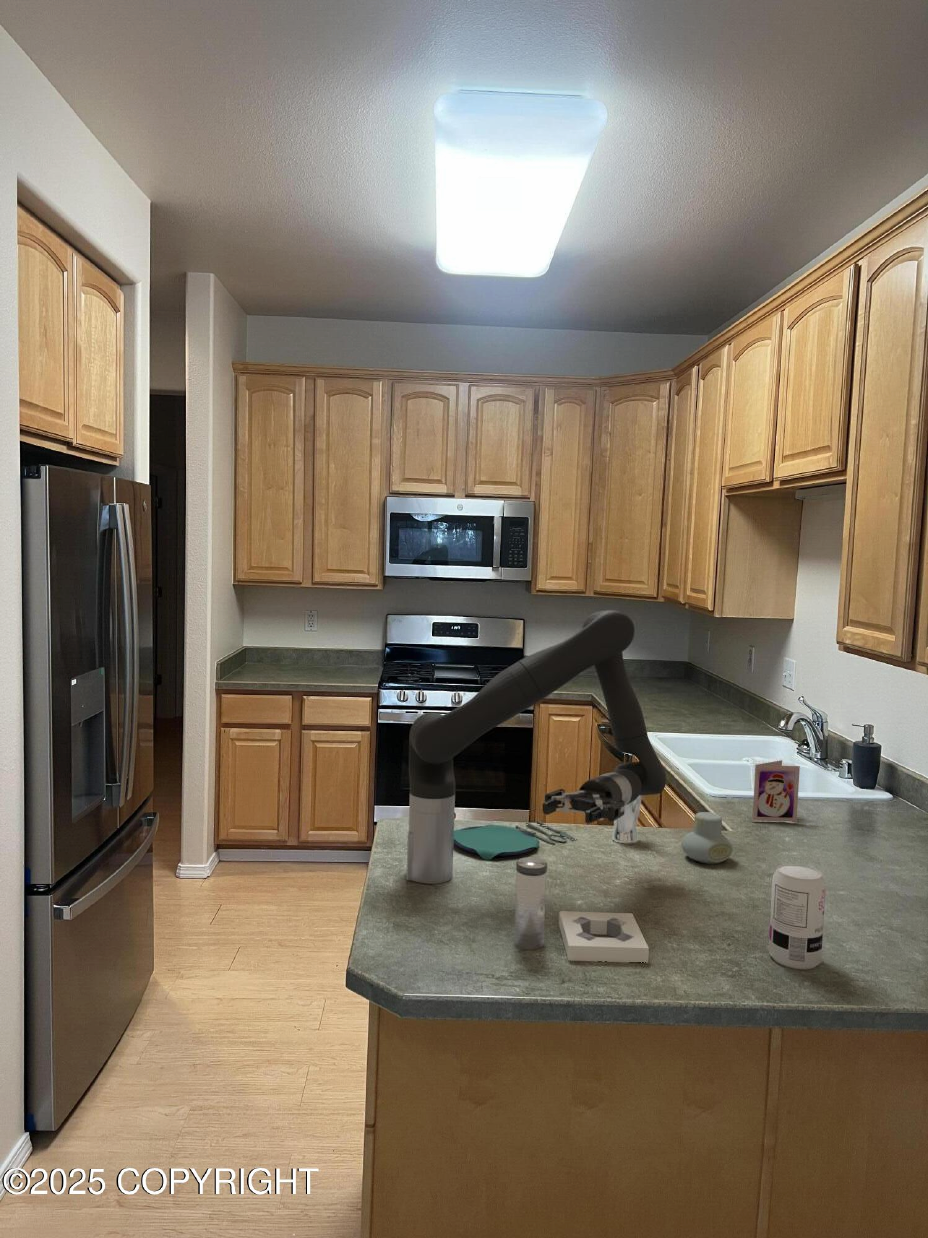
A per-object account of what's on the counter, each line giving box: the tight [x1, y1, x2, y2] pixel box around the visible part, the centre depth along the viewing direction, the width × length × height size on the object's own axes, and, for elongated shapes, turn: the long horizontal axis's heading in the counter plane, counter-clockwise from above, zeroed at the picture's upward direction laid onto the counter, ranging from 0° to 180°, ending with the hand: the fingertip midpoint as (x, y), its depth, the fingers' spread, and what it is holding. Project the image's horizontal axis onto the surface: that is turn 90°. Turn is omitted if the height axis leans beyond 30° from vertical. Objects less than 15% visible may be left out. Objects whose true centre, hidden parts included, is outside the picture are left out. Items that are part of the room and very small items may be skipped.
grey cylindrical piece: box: [513, 857, 548, 951], centre depth 146 cm, size 5×5×14 cm
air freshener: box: [681, 811, 734, 865], centre depth 192 cm, size 11×8×10 cm
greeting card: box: [752, 759, 801, 823], centre depth 225 cm, size 11×7×15 cm, turn 90°
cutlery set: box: [453, 820, 578, 861], centre depth 200 cm, size 20×30×2 cm, turn 124°
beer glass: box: [611, 795, 643, 845], centre depth 204 cm, size 7×7×15 cm
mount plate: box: [558, 910, 650, 964], centre depth 148 cm, size 13×14×2 cm
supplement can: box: [768, 863, 827, 970], centre depth 143 cm, size 8×8×15 cm
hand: (565, 813), depth 154 cm, fingers open, 8 cm apart
